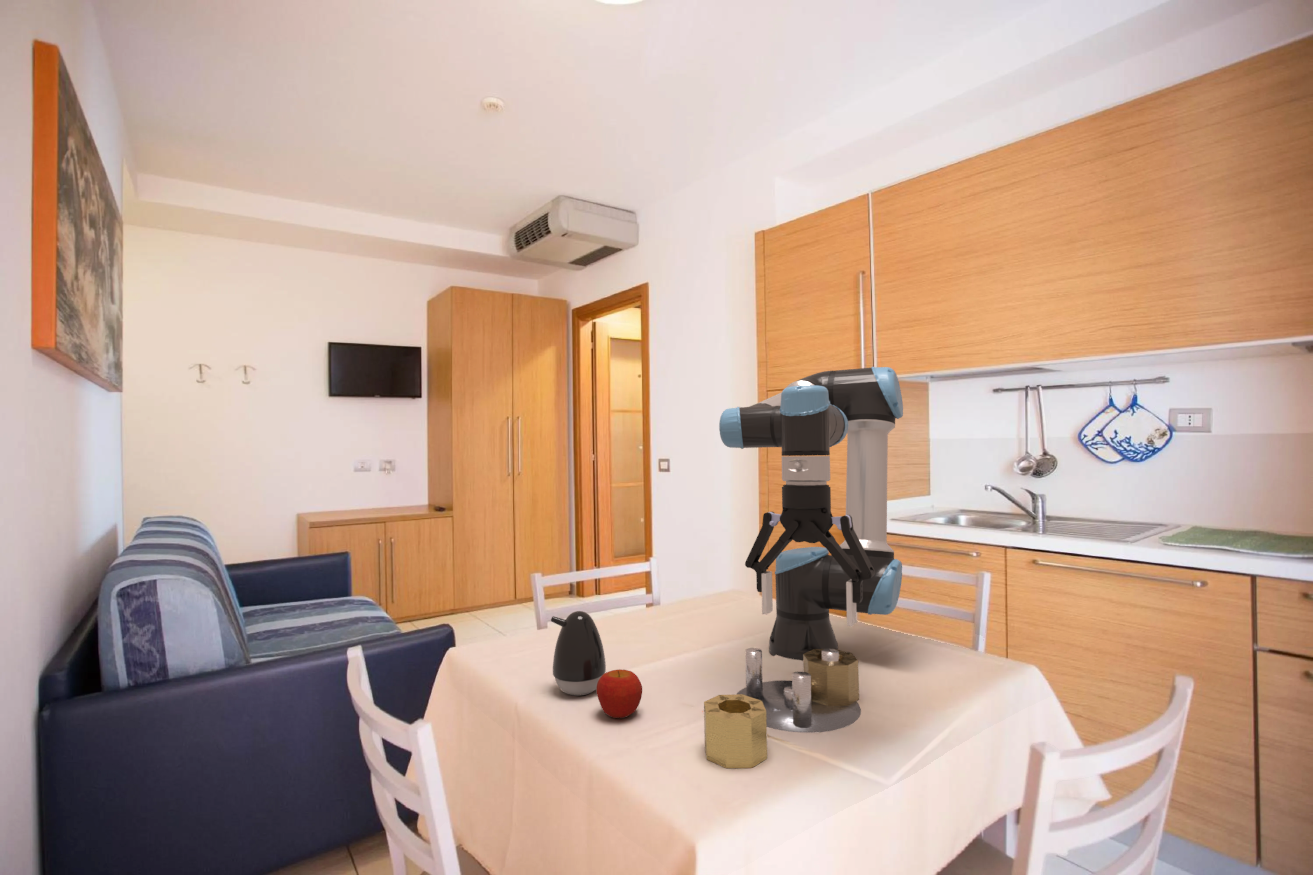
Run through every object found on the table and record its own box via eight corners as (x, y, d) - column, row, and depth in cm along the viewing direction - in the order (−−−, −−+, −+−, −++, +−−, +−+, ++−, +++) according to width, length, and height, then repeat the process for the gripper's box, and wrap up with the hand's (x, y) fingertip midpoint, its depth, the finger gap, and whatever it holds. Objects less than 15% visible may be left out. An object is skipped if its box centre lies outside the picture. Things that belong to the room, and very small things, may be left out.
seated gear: (796, 695, 113) (795, 657, 113) (821, 682, 119) (820, 645, 119) (841, 710, 106) (840, 669, 107) (865, 694, 113) (865, 656, 113)
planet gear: (693, 753, 94) (692, 706, 94) (730, 733, 100) (729, 689, 100) (741, 774, 87) (740, 724, 88) (777, 751, 94) (776, 705, 94)
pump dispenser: (554, 681, 124) (553, 605, 124) (606, 679, 125) (604, 603, 125) (549, 702, 114) (548, 619, 114) (606, 699, 115) (605, 617, 115)
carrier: (707, 709, 109) (707, 659, 110) (778, 675, 125) (777, 632, 125) (818, 751, 94) (817, 692, 94) (883, 706, 109) (882, 656, 110)
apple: (637, 726, 103) (636, 679, 104) (591, 723, 105) (591, 677, 105) (645, 707, 111) (645, 663, 111) (603, 704, 112) (603, 661, 113)
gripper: (724, 483, 102) (725, 613, 101) (882, 485, 88) (885, 635, 88) (743, 481, 108) (744, 603, 107) (893, 483, 95) (896, 623, 94)
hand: (808, 618), depth 97 cm, fingers open, 13 cm apart
